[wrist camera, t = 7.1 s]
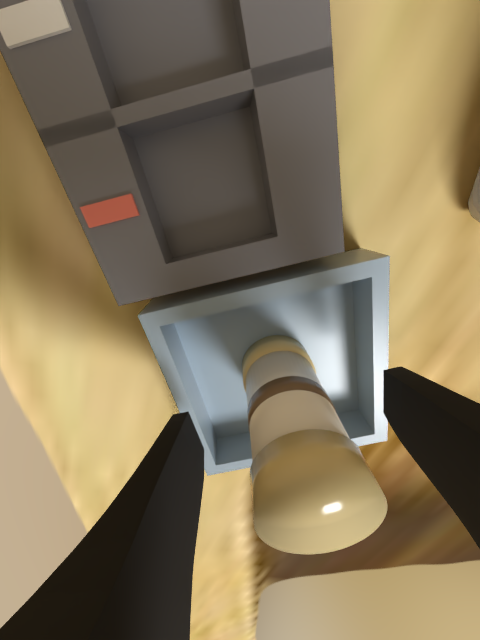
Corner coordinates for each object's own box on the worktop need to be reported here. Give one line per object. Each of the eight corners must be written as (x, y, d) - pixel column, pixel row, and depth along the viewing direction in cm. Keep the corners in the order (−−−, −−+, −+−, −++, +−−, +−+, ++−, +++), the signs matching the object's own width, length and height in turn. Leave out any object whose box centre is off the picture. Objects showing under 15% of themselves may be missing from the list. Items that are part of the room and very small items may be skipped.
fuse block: (286, -163, 6) (312, -332, 4) (323, 244, 10) (345, 252, 8) (-9, -62, 7) (-107, -175, 5) (137, 289, 11) (117, 307, 9)
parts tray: (360, 248, 10) (389, 255, 8) (366, 410, 14) (387, 440, 12) (153, 297, 11) (137, 315, 9) (210, 441, 14) (207, 475, 13)
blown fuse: (303, 328, 11) (387, 461, 5) (312, 383, 12) (387, 542, 6) (234, 344, 11) (239, 490, 5) (250, 397, 13) (267, 562, 7)
